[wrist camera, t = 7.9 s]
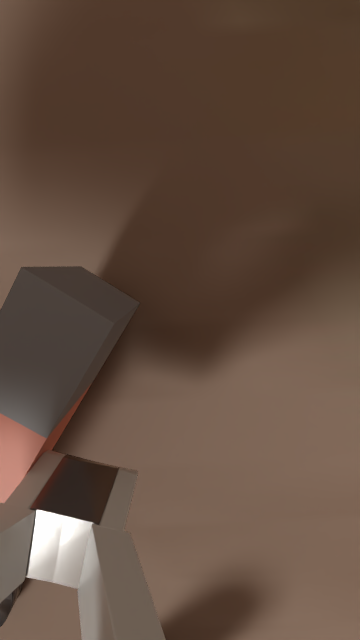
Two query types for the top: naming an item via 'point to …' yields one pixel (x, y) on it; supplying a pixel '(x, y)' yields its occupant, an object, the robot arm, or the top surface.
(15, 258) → the top surface
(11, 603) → the lever base
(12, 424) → the latch lever
